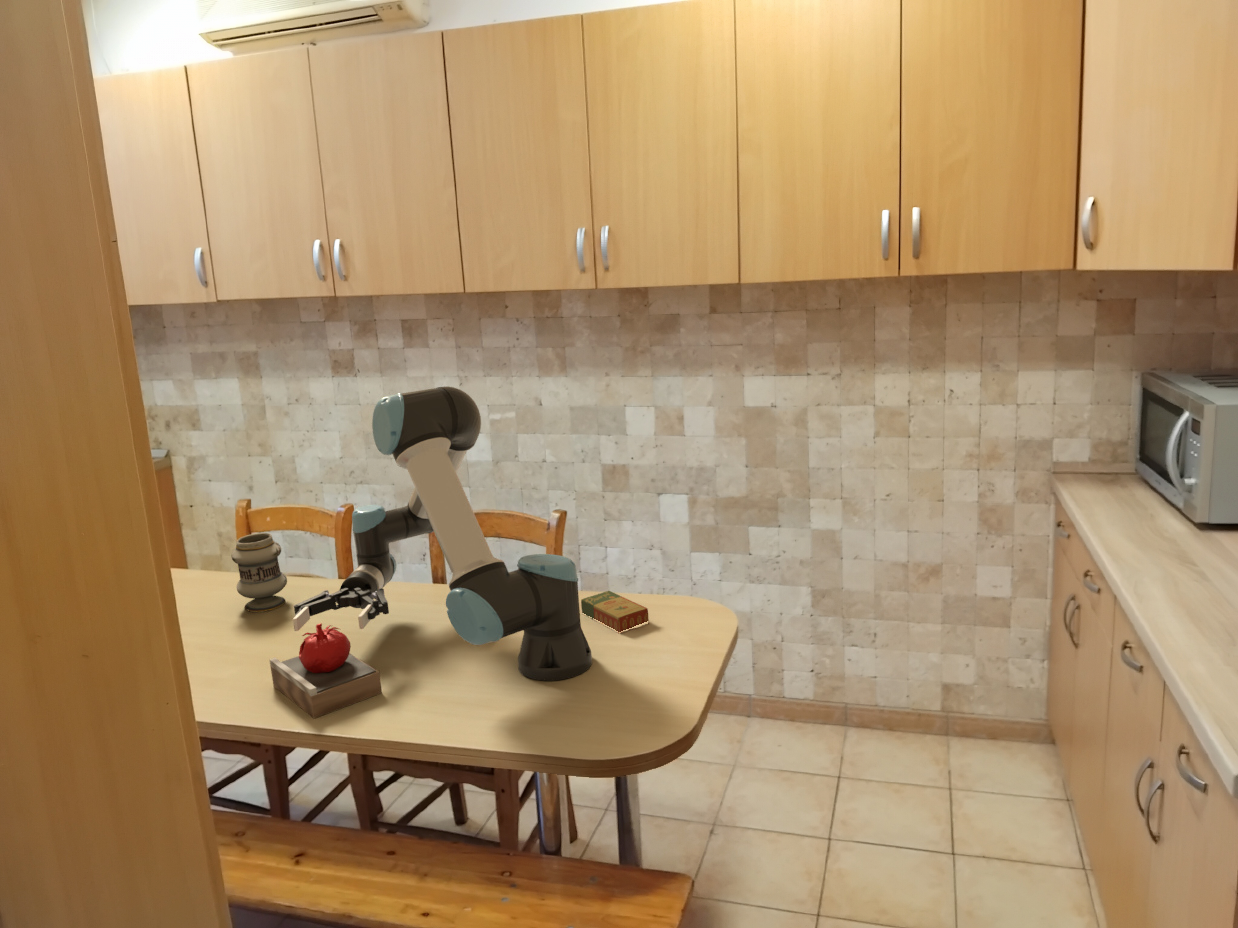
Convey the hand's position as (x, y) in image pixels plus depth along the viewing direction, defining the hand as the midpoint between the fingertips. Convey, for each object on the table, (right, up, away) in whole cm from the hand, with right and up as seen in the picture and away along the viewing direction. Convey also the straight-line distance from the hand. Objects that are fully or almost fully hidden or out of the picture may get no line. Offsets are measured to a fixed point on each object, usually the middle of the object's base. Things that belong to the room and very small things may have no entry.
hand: (327, 623), depth 192 cm
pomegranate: (+1, -8, -2) cm, 9 cm away
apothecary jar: (-31, -4, +48) cm, 57 cm away
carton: (+58, -4, +25) cm, 63 cm away
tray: (0, -13, -2) cm, 13 cm away
